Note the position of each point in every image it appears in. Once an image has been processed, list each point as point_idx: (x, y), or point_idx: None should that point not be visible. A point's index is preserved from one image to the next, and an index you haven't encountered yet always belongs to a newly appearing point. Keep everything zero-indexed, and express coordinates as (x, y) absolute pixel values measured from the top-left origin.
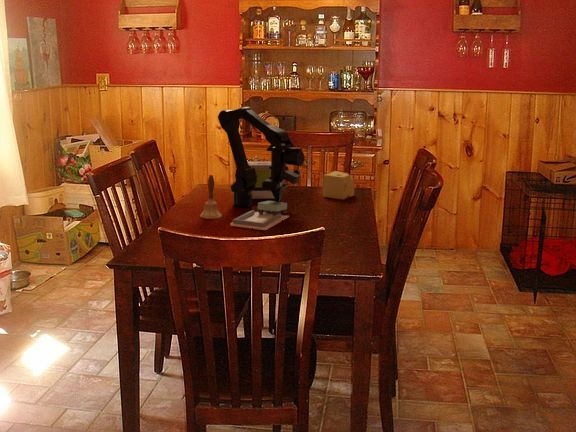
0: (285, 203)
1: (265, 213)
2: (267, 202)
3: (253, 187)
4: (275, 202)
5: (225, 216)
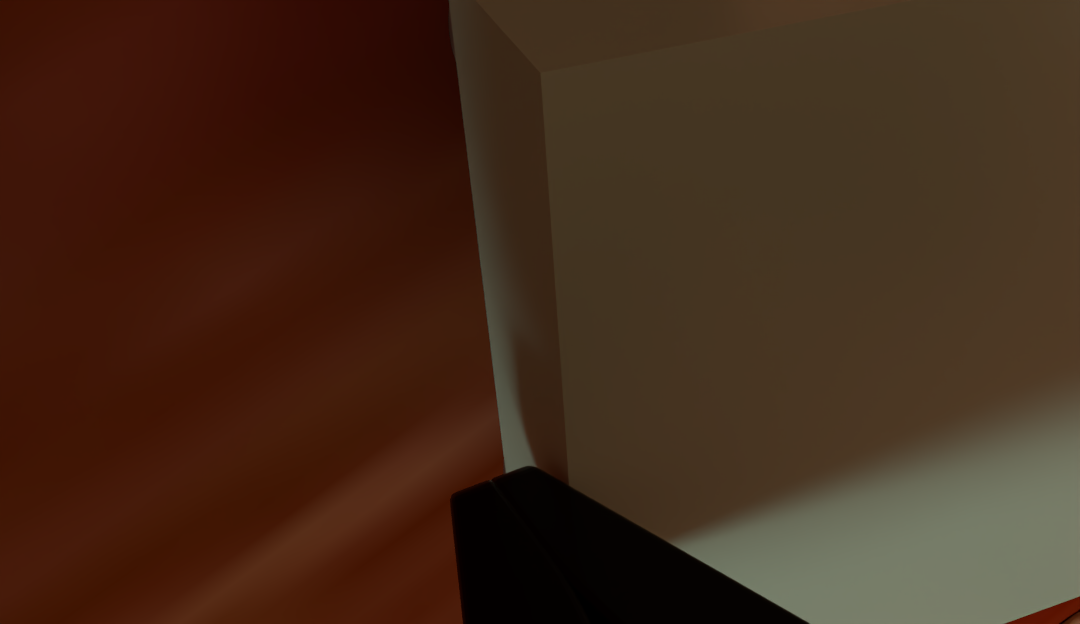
0: (785, 15)
1: None
2: (1058, 500)
3: None
4: (877, 405)
5: (1041, 610)
